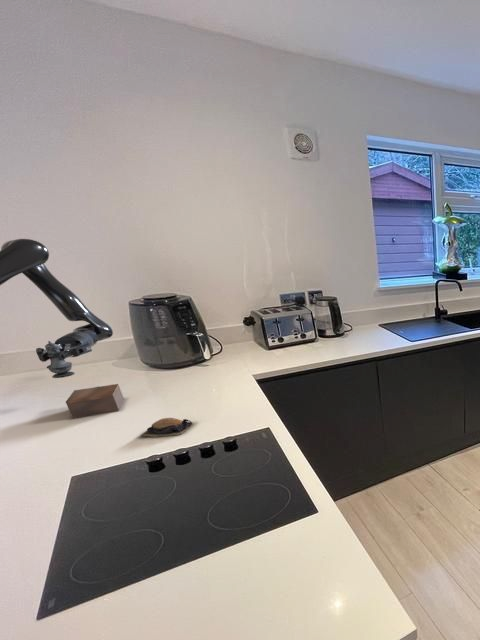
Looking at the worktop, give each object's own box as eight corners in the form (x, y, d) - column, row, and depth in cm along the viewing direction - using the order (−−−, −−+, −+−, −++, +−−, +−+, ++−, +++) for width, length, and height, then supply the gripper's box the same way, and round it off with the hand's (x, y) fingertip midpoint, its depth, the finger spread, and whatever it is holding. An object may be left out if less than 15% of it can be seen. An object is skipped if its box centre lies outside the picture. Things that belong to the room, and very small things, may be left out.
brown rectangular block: (72, 418, 128) (65, 401, 125) (80, 406, 136) (74, 390, 134) (119, 410, 134) (112, 394, 131) (124, 399, 142) (118, 383, 140)
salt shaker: (51, 379, 130) (35, 344, 125) (50, 375, 133) (35, 340, 129) (76, 375, 134) (62, 341, 129) (75, 370, 138) (61, 337, 133)
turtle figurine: (140, 438, 118) (135, 427, 116) (158, 425, 125) (154, 414, 124) (180, 436, 119) (176, 425, 118) (195, 422, 127) (192, 412, 126)
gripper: (43, 335, 138) (14, 349, 124) (97, 331, 144) (76, 344, 130) (51, 356, 141) (25, 371, 127) (104, 351, 147) (84, 366, 133)
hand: (51, 357), depth 129 cm, fingers closed on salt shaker, 3 cm apart
